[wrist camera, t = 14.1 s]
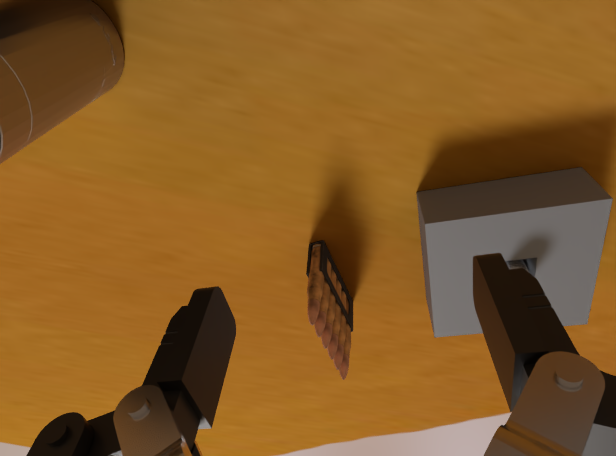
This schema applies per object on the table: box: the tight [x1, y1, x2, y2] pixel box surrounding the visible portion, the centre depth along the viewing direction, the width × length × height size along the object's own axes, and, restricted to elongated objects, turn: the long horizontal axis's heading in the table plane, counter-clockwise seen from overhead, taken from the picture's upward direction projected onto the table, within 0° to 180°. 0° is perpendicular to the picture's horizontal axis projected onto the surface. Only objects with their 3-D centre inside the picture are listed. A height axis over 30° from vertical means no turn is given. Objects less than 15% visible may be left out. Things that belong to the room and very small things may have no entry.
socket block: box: [417, 167, 613, 337], centre depth 46 cm, size 16×16×6 cm
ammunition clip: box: [306, 240, 353, 380], centre depth 48 cm, size 11×2×12 cm, turn 23°
